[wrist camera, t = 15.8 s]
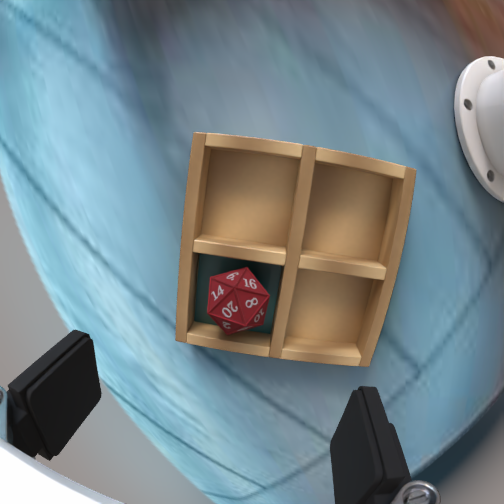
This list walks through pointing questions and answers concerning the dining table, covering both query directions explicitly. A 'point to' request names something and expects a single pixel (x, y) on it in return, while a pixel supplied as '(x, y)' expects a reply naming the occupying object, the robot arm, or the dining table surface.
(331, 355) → the wooden compartment tray
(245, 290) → the dice
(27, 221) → the dining table surface
